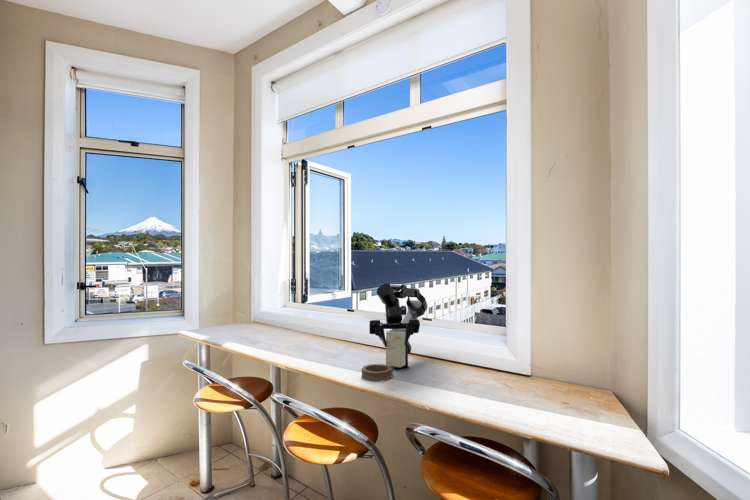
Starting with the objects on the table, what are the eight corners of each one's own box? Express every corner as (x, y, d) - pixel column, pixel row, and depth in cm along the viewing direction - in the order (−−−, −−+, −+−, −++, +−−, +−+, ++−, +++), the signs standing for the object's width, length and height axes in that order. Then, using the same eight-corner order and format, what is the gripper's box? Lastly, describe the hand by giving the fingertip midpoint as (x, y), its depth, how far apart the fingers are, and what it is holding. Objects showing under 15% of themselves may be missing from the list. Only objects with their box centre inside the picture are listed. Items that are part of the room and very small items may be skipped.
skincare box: (385, 365, 133) (385, 331, 133) (391, 362, 137) (390, 329, 137) (401, 367, 130) (400, 333, 130) (406, 364, 134) (405, 331, 134)
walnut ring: (385, 370, 146) (385, 362, 146) (396, 378, 136) (396, 370, 136) (358, 373, 143) (358, 365, 143) (367, 382, 132) (367, 374, 132)
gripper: (369, 298, 137) (370, 334, 126) (418, 297, 138) (424, 333, 127) (368, 316, 145) (370, 351, 134) (415, 315, 146) (420, 350, 135)
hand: (396, 346), depth 132 cm, fingers closed on skincare box, 7 cm apart
